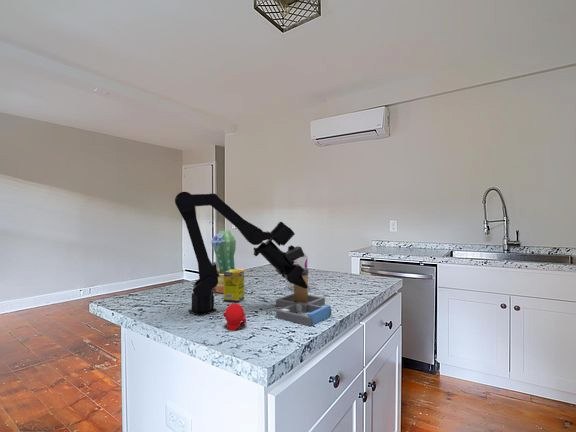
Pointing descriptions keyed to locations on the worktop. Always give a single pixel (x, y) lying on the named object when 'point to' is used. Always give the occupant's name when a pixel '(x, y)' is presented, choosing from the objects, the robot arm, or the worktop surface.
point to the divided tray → (303, 310)
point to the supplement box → (233, 285)
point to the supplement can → (302, 262)
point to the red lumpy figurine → (234, 316)
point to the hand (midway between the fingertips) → (304, 285)
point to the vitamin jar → (301, 289)
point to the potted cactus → (224, 255)
